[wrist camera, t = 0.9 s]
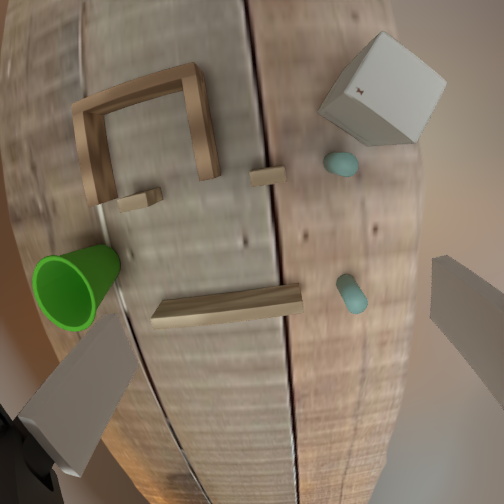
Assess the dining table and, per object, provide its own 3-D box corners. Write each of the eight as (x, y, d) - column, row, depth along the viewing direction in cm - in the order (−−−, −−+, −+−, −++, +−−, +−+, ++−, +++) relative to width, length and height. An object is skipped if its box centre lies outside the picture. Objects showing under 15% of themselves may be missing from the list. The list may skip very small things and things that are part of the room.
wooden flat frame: (92, 108, 33) (71, 104, 28) (263, 62, 31) (262, 48, 26) (139, 312, 41) (126, 331, 36) (299, 293, 39) (303, 312, 34)
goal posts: (322, 153, 34) (333, 153, 28) (342, 151, 33) (356, 151, 28) (336, 293, 39) (347, 315, 33) (354, 289, 39) (367, 311, 33)
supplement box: (367, 148, 33) (415, 147, 21) (315, 112, 32) (340, 91, 20) (396, 101, 31) (450, 83, 19) (345, 65, 30) (381, 27, 18)
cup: (135, 296, 40) (100, 339, 30) (81, 287, 40) (39, 323, 30) (133, 232, 37) (90, 261, 27) (76, 227, 38) (26, 251, 27)
